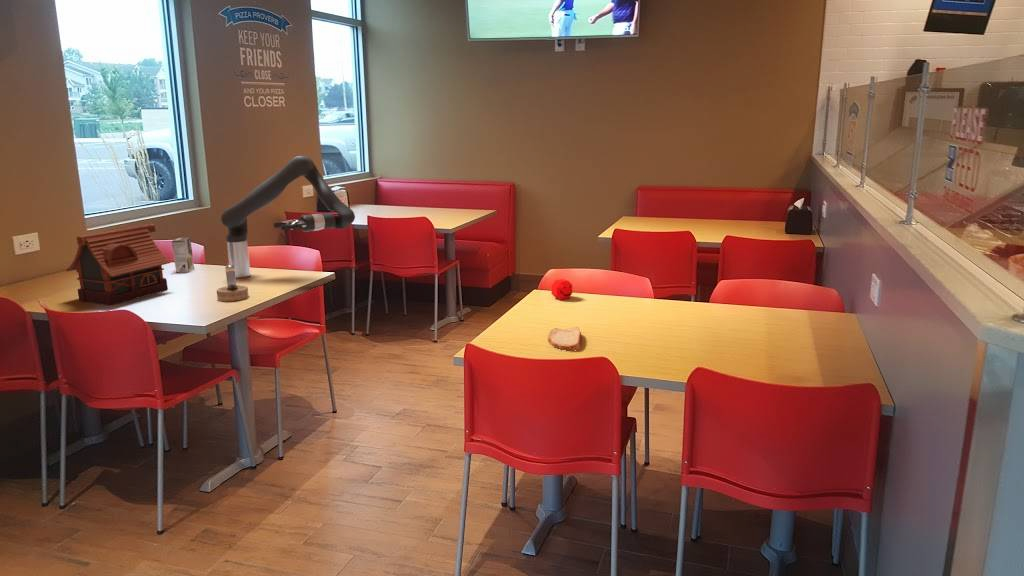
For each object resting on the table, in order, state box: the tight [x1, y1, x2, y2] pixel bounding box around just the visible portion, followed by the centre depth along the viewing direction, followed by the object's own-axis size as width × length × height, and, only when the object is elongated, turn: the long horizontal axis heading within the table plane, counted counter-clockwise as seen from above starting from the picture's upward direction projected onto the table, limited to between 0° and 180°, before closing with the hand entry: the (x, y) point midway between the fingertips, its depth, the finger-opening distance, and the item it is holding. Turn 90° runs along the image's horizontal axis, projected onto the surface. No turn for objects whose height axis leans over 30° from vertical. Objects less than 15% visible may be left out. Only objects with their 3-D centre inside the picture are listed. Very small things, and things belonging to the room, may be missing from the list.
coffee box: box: [171, 237, 195, 273], centre depth 363 cm, size 9×6×16 cm
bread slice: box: [547, 326, 583, 352], centre depth 249 cm, size 18×18×4 cm
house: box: [65, 223, 172, 306], centre depth 315 cm, size 35×28×29 cm
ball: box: [550, 278, 573, 301], centre depth 304 cm, size 8×8×8 cm
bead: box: [216, 284, 249, 302], centre depth 311 cm, size 12×12×4 cm
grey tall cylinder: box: [224, 264, 237, 290], centre depth 310 cm, size 4×4×14 cm
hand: (277, 226), depth 320 cm, fingers open, 8 cm apart
